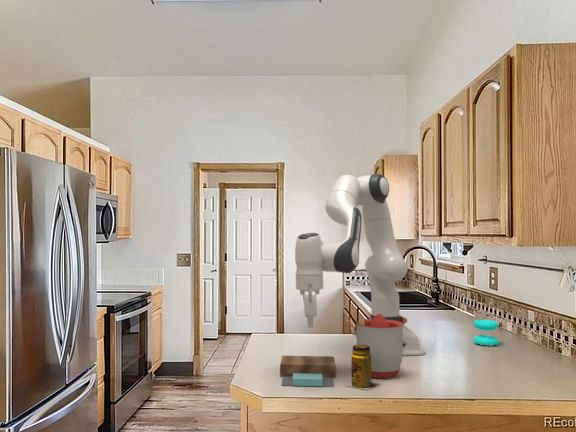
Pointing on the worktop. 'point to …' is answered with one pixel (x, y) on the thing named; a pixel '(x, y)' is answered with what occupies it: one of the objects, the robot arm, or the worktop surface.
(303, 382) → the block
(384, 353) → the citrus juicer
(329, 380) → the mat
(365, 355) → the condiment
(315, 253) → the robot arm
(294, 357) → the board
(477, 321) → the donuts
